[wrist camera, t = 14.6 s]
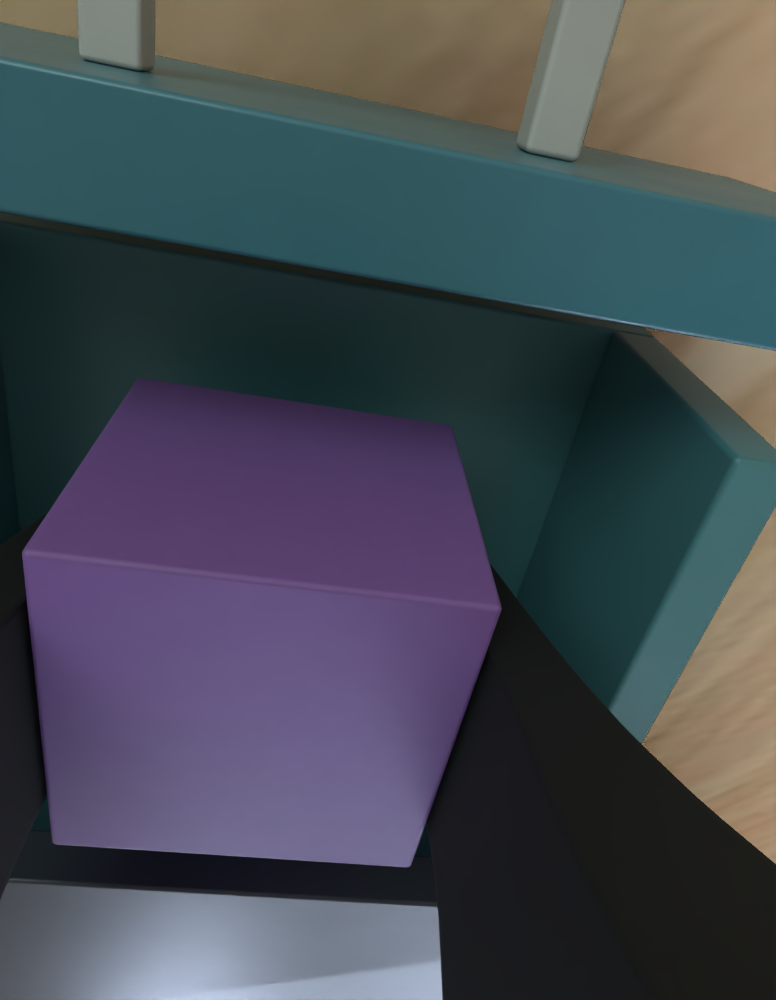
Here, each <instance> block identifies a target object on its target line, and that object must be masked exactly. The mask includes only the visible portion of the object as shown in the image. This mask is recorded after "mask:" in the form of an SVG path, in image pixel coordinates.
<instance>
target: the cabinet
mask: <svg viewBox="0 0 776 1000" xmlns="http://www.w3.org/2000/svg"><path fill="white" fill-rule="evenodd" d="M0 1000H443V997H442V977H441V957H440V937H439V917H438V907H437V897H436V888H435V878H434V871H433V864H432V857H431V856H416V855H414V858H413V861H412V864H411V866H410V867H394V866H379V865H364V864H348V863H333V862H318V861H302V860H287V859H272V858H257V857H241V856H226V855H211V854H195V853H180V852H165V851H149V850H134V849H119V848H103V847H88V846H73V845H57V844H54V843H53V842H52V836H51V831H43V830H30V832H29V834H28V836H27V839H26V841H25V843H24V845H23V847H22V849H21V852H20V854H19V856H18V859H17V861H16V863H15V866H14V868H13V871H12V873H11V875H10V878H9V880H8V883H7V885H6V887H5V890H4V892H3V895H2V898H1V901H0Z"/></svg>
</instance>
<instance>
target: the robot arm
mask: <svg viewBox="0 0 776 1000" xmlns="http://www.w3.org/2000/svg"><path fill="white" fill-rule="evenodd" d="M47 514H48V513H46V514H45V515H43V516H42V517H41V518H39V519H38V520H36V521H35V522H33V523H32V524H30V525H29V526H27V527H26V528H24V529H23V530H22V531H20V532H19V533H17V534H16V535H14V536H13V537H11V538H10V539H9V540H7V541H6V542H4V543H3V544H1V545H0V901H1V898H2V895H3V892H4V890H5V887H6V885H7V883H8V880H9V878H10V875H11V873H12V871H13V868H14V866H15V863H16V861H17V859H18V856H19V854H20V852H21V849H22V847H23V845H24V843H25V841H26V839H27V836H28V834H29V832H30V830H31V828H32V826H33V824H34V821H35V819H36V817H37V815H38V813H39V811H40V809H41V806H42V804H43V802H44V800H45V798H46V796H47V788H46V778H45V769H44V759H43V750H42V740H41V731H40V721H39V712H38V702H37V692H36V683H35V673H34V664H33V654H32V645H31V635H30V626H29V616H28V607H27V597H26V587H25V578H24V568H23V559H22V552H23V550H24V548H25V547H26V545H27V544H28V542H29V541H30V539H31V538H32V536H33V535H34V533H35V532H36V530H37V529H38V527H39V526H40V524H41V523H42V521H43V520H44V518H45V517H46V515H47ZM490 567H491V571H492V574H493V578H494V582H495V585H496V589H497V593H498V596H499V600H500V604H501V608H502V610H501V613H500V615H499V618H498V621H497V624H496V627H495V630H494V632H493V635H492V638H491V641H490V644H489V646H488V649H487V652H486V655H485V658H484V661H483V663H482V666H481V669H480V672H479V675H478V678H477V680H476V683H475V686H474V689H473V692H472V694H471V697H470V700H469V703H468V706H467V709H466V711H465V714H464V717H463V720H462V723H461V725H460V728H459V731H458V734H457V737H456V740H455V742H454V745H453V748H452V751H451V754H450V756H449V759H448V762H447V765H446V768H445V771H444V773H443V776H442V779H441V782H440V785H439V788H438V790H437V793H436V796H435V799H434V802H433V804H432V807H431V810H430V813H429V816H428V819H427V821H426V823H427V830H428V836H429V843H430V850H431V857H432V864H433V871H434V878H435V888H436V897H437V907H438V917H439V937H440V957H441V977H442V997H443V1000H776V864H775V863H774V862H772V861H771V860H770V859H769V858H768V857H766V856H765V855H764V854H763V853H762V852H760V851H759V850H758V849H757V848H756V847H754V846H753V845H752V844H751V843H750V842H748V841H747V840H746V839H745V838H744V837H743V836H741V835H740V834H739V833H738V832H737V831H735V830H734V829H733V828H732V827H731V826H729V825H728V824H727V823H726V822H725V821H723V820H722V819H721V818H720V817H719V816H718V815H716V814H715V813H714V812H713V811H712V810H711V809H710V808H709V807H707V806H706V805H705V804H704V803H703V802H702V801H701V800H700V799H698V798H697V797H696V796H695V795H694V794H693V793H692V792H691V791H690V790H688V789H687V788H686V787H685V786H684V785H683V784H682V783H681V782H680V781H679V780H678V779H677V778H676V777H675V776H674V775H673V774H672V773H671V772H670V771H669V770H668V769H667V768H665V767H664V766H663V765H662V764H661V763H660V762H659V761H658V760H657V759H656V758H655V757H654V756H653V755H652V754H651V753H650V752H649V751H648V750H647V749H646V748H645V747H644V746H643V745H642V744H641V743H640V742H639V741H638V740H637V739H636V738H635V737H634V736H633V735H632V734H631V733H630V732H629V731H628V730H627V729H626V728H625V727H624V726H623V725H622V724H621V723H620V722H619V721H618V719H617V718H616V717H615V716H614V715H613V714H612V713H611V712H610V711H609V710H608V708H607V707H606V706H605V705H604V704H603V703H602V702H601V701H600V700H599V699H598V697H597V696H596V695H595V694H594V693H593V692H592V691H591V690H590V689H589V688H588V686H587V685H586V684H585V683H584V682H583V681H582V679H581V678H580V677H579V676H578V675H577V674H576V672H575V671H574V670H573V669H572V668H571V667H570V665H569V664H568V663H567V662H566V661H565V659H564V658H563V657H562V656H561V654H560V653H559V652H558V651H557V650H556V648H555V647H554V646H553V645H552V643H551V642H550V641H549V640H548V638H547V637H546V636H545V635H544V633H543V632H542V631H541V630H540V628H539V627H538V626H537V624H536V623H535V622H534V621H533V619H532V618H531V617H530V615H529V614H528V613H527V611H526V610H525V609H524V608H523V606H522V605H521V604H520V602H519V601H518V600H517V598H516V597H515V596H514V594H513V593H512V592H511V590H510V589H509V588H508V586H507V585H506V584H505V582H504V581H503V580H502V578H501V577H500V576H499V574H498V573H497V572H496V570H495V569H494V568H493V566H492V565H491V564H490Z"/></svg>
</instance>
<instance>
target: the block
mask: <svg viewBox="0 0 776 1000" xmlns="http://www.w3.org/2000/svg"><path fill="white" fill-rule="evenodd" d="M22 559H23V568H24V578H25V587H26V597H27V607H28V616H29V626H30V635H31V645H32V654H33V664H34V673H35V683H36V692H37V702H38V712H39V721H40V731H41V740H42V750H43V759H44V769H45V778H46V788H47V797H48V807H49V817H50V826H51V836H52V842H53V843H54V844H57V845H73V846H88V847H103V848H119V849H134V850H149V851H165V852H180V853H195V854H211V855H226V856H241V857H257V858H272V859H287V860H302V861H318V862H333V863H348V864H364V865H379V866H394V867H410V866H411V864H412V861H413V858H414V855H415V852H416V850H417V847H418V844H419V841H420V838H421V835H422V833H423V830H424V827H425V824H426V821H427V819H428V816H429V813H430V810H431V807H432V804H433V802H434V799H435V796H436V793H437V790H438V788H439V785H440V782H441V779H442V776H443V773H444V771H445V768H446V765H447V762H448V759H449V756H450V754H451V751H452V748H453V745H454V742H455V740H456V737H457V734H458V731H459V728H460V725H461V723H462V720H463V717H464V714H465V711H466V709H467V706H468V703H469V700H470V697H471V694H472V692H473V689H474V686H475V683H476V680H477V678H478V675H479V672H480V669H481V666H482V663H483V661H484V658H485V655H486V652H487V649H488V646H489V644H490V641H491V638H492V635H493V632H494V630H495V627H496V624H497V621H498V618H499V615H500V613H501V610H502V608H501V604H500V600H499V596H498V593H497V589H496V585H495V582H494V578H493V574H492V571H491V567H490V563H489V559H488V556H487V552H486V548H485V545H484V541H483V537H482V534H481V530H480V526H479V523H478V519H477V515H476V512H475V508H474V504H473V501H472V497H471V493H470V490H469V486H468V482H467V479H466V475H465V471H464V468H463V464H462V460H461V457H460V453H459V449H458V445H457V442H456V438H455V434H454V431H453V427H452V426H450V425H446V424H439V423H433V422H426V421H420V420H413V419H407V418H400V417H394V416H387V415H381V414H374V413H367V412H361V411H354V410H348V409H341V408H335V407H328V406H322V405H315V404H309V403H302V402H295V401H289V400H282V399H276V398H269V397H263V396H256V395H250V394H243V393H237V392H230V391H224V390H217V389H210V388H204V387H197V386H191V385H184V384H178V383H171V382H165V381H158V380H152V379H145V378H138V379H137V380H136V382H135V383H134V385H133V386H132V388H131V389H130V391H129V392H128V394H127V395H126V397H125V398H124V400H123V401H122V403H121V404H120V406H119V407H118V409H117V410H116V412H115V413H114V415H113V416H112V418H111V419H110V421H109V422H108V424H107V425H106V427H105V428H104V430H103V431H102V433H101V434H100V436H99V437H98V439H97V440H96V442H95V443H94V445H93V446H92V448H91V449H90V451H89V452H88V454H87V455H86V457H85V458H84V460H83V461H82V463H81V464H80V466H79V467H78V469H77V470H76V472H75V473H74V475H73V476H72V478H71V479H70V481H69V482H68V484H67V485H66V487H65V488H64V490H63V491H62V493H61V494H60V496H59V497H58V499H57V500H56V502H55V503H54V505H53V506H52V508H51V509H50V511H49V512H48V514H47V515H46V517H45V518H44V520H43V521H42V523H41V524H40V526H39V527H38V529H37V530H36V532H35V533H34V535H33V536H32V538H31V539H30V541H29V542H28V544H27V545H26V547H25V548H24V550H23V552H22Z"/></svg>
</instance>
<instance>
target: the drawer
mask: <svg viewBox="0 0 776 1000" xmlns="http://www.w3.org/2000/svg"><path fill="white" fill-rule="evenodd" d="M624 3H625V0H552V2H551V6H550V10H549V14H548V18H547V22H546V26H545V30H544V34H543V38H542V42H541V46H540V50H539V54H538V58H537V61H536V65H535V69H534V73H533V77H532V81H531V85H530V89H529V93H528V97H527V101H526V105H525V109H524V113H523V117H522V121H521V125H520V129H519V132H513V131H509V130H504V129H499V128H495V127H490V126H485V125H481V124H476V123H471V122H466V121H462V120H457V119H452V118H448V117H443V116H438V115H434V114H429V113H424V112H420V111H415V110H410V109H406V108H401V107H396V106H391V105H387V104H382V103H377V102H373V101H368V100H363V99H359V98H354V97H349V96H345V95H340V94H335V93H331V92H326V91H321V90H316V89H312V88H307V87H302V86H298V85H293V84H288V83H284V82H279V81H274V80H270V79H265V78H260V77H255V76H251V75H246V74H241V73H237V72H232V71H227V70H223V69H218V68H213V67H209V66H204V65H199V64H195V63H190V62H185V61H180V60H176V59H171V58H166V57H162V56H157V55H155V0H77V9H78V37H79V39H77V38H73V37H68V36H63V35H59V34H54V33H49V32H44V31H40V30H35V29H30V28H26V27H21V26H16V25H12V24H7V23H2V22H0V545H1V544H3V543H4V542H6V541H7V540H9V539H10V538H11V537H13V536H14V535H16V534H17V533H19V532H20V531H22V530H23V529H24V528H26V527H27V526H29V525H30V524H32V523H33V522H35V521H36V520H38V519H39V518H41V517H42V516H43V515H45V514H46V513H48V512H49V511H50V509H51V508H52V506H53V505H54V503H55V502H56V500H57V499H58V497H59V496H60V494H61V493H62V491H63V490H64V488H65V487H66V485H67V484H68V482H69V481H70V479H71V478H72V476H73V475H74V473H75V472H76V470H77V469H78V467H79V466H80V464H81V463H82V461H83V460H84V458H85V457H86V455H87V454H88V452H89V451H90V449H91V448H92V446H93V445H94V443H95V442H96V440H97V439H98V437H99V436H100V434H101V433H102V431H103V430H104V428H105V427H106V425H107V424H108V422H109V421H110V419H111V418H112V416H113V415H114V413H115V412H116V410H117V409H118V407H119V406H120V404H121V403H122V401H123V400H124V398H125V397H126V395H127V394H128V392H129V391H130V389H131V388H132V386H133V385H134V383H135V382H136V380H137V379H138V378H145V379H152V380H158V381H165V382H171V383H178V384H184V385H191V386H197V387H204V388H210V389H217V390H224V391H230V392H237V393H243V394H250V395H256V396H263V397H269V398H276V399H282V400H289V401H295V402H302V403H309V404H315V405H322V406H328V407H335V408H341V409H348V410H354V411H361V412H367V413H374V414H381V415H387V416H394V417H400V418H407V419H413V420H420V421H426V422H433V423H439V424H446V425H450V426H452V427H453V431H454V434H455V438H456V442H457V445H458V449H459V453H460V457H461V460H462V464H463V468H464V471H465V475H466V479H467V482H468V486H469V490H470V493H471V497H472V501H473V504H474V508H475V512H476V515H477V519H478V523H479V526H480V530H481V534H482V537H483V541H484V545H485V548H486V552H487V556H488V559H489V563H490V564H491V565H492V566H493V568H494V569H495V570H496V572H497V573H498V574H499V576H500V577H501V578H502V580H503V581H504V582H505V584H506V585H507V586H508V588H509V589H510V590H511V592H512V593H513V594H514V596H515V597H516V598H517V600H518V601H519V602H520V604H521V605H522V606H523V608H524V609H525V610H526V611H527V613H528V614H529V615H530V617H531V618H532V619H533V621H534V622H535V623H536V624H537V626H538V627H539V628H540V630H541V631H542V632H543V633H544V635H545V636H546V637H547V638H548V640H549V641H550V642H551V643H552V645H553V646H554V647H555V648H556V650H557V651H558V652H559V653H560V654H561V656H562V657H563V658H564V659H565V661H566V662H567V663H568V664H569V665H570V667H571V668H572V669H573V670H574V671H575V672H576V674H577V675H578V676H579V677H580V678H581V679H582V681H583V682H584V683H585V684H586V685H587V686H588V688H589V689H590V690H591V691H592V692H593V693H594V694H595V695H596V696H597V697H598V699H599V700H600V701H601V702H602V703H603V704H604V705H605V706H606V707H607V708H608V710H609V711H610V712H611V713H612V714H613V715H614V716H615V717H616V718H617V719H618V721H619V722H620V723H621V724H622V725H623V726H624V727H625V728H626V729H627V730H628V731H629V732H630V733H631V734H632V735H633V736H634V737H635V738H636V739H637V740H638V741H639V742H640V743H641V744H642V742H643V741H644V739H645V737H646V735H647V733H648V732H649V730H650V728H651V726H652V725H653V723H654V721H655V719H656V717H657V716H658V714H659V712H660V710H661V709H662V707H663V705H664V703H665V701H666V700H667V698H668V696H669V694H670V693H671V691H672V689H673V687H674V685H675V684H676V682H677V680H678V678H679V677H680V675H681V673H682V671H683V669H684V668H685V666H686V664H687V662H688V661H689V659H690V657H691V655H692V653H693V652H694V650H695V648H696V646H697V645H698V643H699V641H700V639H701V638H702V636H703V634H704V632H705V630H706V629H707V627H708V625H709V623H710V622H711V620H712V618H713V616H714V614H715V613H716V611H717V609H718V607H719V606H720V604H721V602H722V600H723V598H724V597H725V595H726V593H727V591H728V590H729V588H730V586H731V584H732V582H733V581H734V579H735V577H736V575H737V574H738V572H739V570H740V568H741V566H742V565H743V563H744V561H745V559H746V558H747V556H748V554H749V552H750V550H751V549H752V547H753V545H754V543H755V542H756V540H757V538H758V536H759V535H760V533H761V531H762V529H763V527H764V526H765V524H766V522H767V520H768V519H769V517H770V515H771V513H772V511H773V510H774V508H775V506H776V449H775V448H774V447H773V446H771V445H770V444H769V443H768V442H767V441H766V440H765V439H764V438H763V437H762V436H761V435H760V434H758V433H757V432H756V431H755V430H754V429H753V428H752V427H751V426H750V425H749V424H748V423H747V422H745V421H744V420H743V419H742V418H741V417H740V416H739V415H738V414H737V413H736V412H735V411H734V410H732V409H731V408H730V407H729V406H728V405H727V404H726V403H725V402H724V401H723V400H722V399H721V398H719V397H718V396H717V395H716V394H715V393H714V392H713V391H712V390H711V389H710V388H709V387H708V386H706V385H705V384H704V383H703V382H702V381H701V380H700V379H699V378H698V377H697V376H696V375H695V374H693V373H692V372H691V371H690V370H689V369H688V368H687V367H686V366H685V365H684V364H683V363H682V362H680V361H679V360H678V359H677V358H676V357H675V356H674V355H673V354H672V353H671V352H670V351H669V350H667V349H666V348H665V347H664V346H663V345H662V344H661V343H660V342H659V341H658V340H656V339H655V338H654V336H652V335H651V334H650V333H649V332H648V331H647V330H646V329H645V328H651V329H656V330H662V331H667V332H673V333H679V334H684V335H690V336H695V337H701V338H707V339H712V340H718V341H723V342H729V343H735V344H740V345H746V346H751V347H757V348H762V349H768V350H774V351H776V192H773V191H770V190H767V189H763V188H760V187H757V186H754V185H751V184H748V183H745V182H741V181H738V180H735V179H732V178H729V177H724V176H720V175H715V174H710V173H706V172H701V171H696V170H692V169H687V168H682V167H678V166H673V165H668V164H663V163H659V162H654V161H649V160H645V159H640V158H635V157H631V156H626V155H621V154H617V153H612V152H607V151H602V150H598V149H593V148H588V147H584V146H582V144H583V141H584V137H585V134H586V131H587V127H588V124H589V121H590V117H591V114H592V111H593V107H594V104H595V101H596V97H597V94H598V90H599V87H600V84H601V80H602V77H603V74H604V70H605V67H606V64H607V60H608V57H609V54H610V50H611V47H612V44H613V40H614V37H615V33H616V30H617V27H618V23H619V20H620V17H621V13H622V10H623V7H624ZM644 327H645V328H644ZM31 830H43V831H51V826H50V817H49V807H48V797H47V796H46V798H45V800H44V802H43V804H42V806H41V809H40V811H39V813H38V815H37V817H36V819H35V821H34V824H33V826H32V828H31ZM415 855H416V856H431V850H430V843H429V836H428V830H427V823H426V824H425V827H424V830H423V833H422V835H421V838H420V841H419V844H418V847H417V850H416V852H415Z"/></svg>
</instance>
